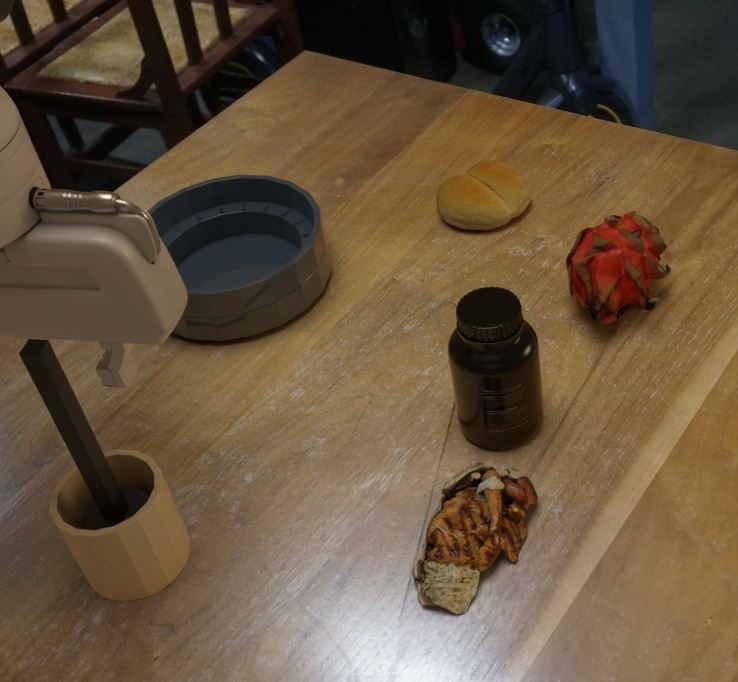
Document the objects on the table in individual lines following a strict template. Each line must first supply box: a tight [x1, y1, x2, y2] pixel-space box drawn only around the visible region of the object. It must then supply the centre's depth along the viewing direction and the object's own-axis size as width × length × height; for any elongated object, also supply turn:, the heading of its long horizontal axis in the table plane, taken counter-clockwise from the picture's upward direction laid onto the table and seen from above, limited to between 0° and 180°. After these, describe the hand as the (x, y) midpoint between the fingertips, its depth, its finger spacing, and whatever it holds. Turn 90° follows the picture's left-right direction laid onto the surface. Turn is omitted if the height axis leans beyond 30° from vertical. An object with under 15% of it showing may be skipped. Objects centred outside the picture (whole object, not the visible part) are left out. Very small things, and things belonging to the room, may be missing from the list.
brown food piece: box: [412, 457, 539, 615], centre depth 78 cm, size 7×12×4 cm, turn 163°
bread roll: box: [435, 160, 532, 231], centre depth 107 cm, size 8×9×4 cm
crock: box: [48, 448, 191, 602], centre depth 77 cm, size 7×7×8 cm
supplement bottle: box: [447, 286, 544, 450], centre depth 83 cm, size 7×7×12 cm
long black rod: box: [18, 338, 150, 530], centre depth 72 cm, size 5×5×21 cm
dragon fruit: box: [565, 210, 672, 325], centre depth 95 cm, size 8×8×12 cm
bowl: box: [146, 174, 332, 342], centre depth 100 cm, size 17×17×6 cm
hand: (49, 375), depth 67 cm, fingers open, 8 cm apart
